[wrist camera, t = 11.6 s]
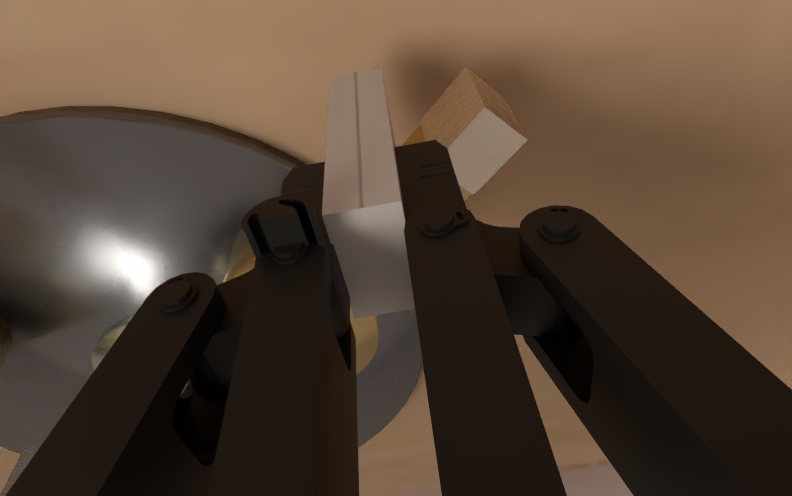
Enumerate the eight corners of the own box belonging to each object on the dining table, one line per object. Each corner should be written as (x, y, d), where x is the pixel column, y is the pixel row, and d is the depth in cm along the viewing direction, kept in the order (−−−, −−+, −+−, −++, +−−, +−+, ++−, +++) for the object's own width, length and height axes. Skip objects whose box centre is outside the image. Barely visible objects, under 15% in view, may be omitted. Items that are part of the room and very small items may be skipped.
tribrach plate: (72, 495, 33) (55, 535, 31) (-309, 175, 18) (-383, 215, 16) (446, 439, 32) (452, 476, 30) (369, 44, 17) (372, 71, 15)
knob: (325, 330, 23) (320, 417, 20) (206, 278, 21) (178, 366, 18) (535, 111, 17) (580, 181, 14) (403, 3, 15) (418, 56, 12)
